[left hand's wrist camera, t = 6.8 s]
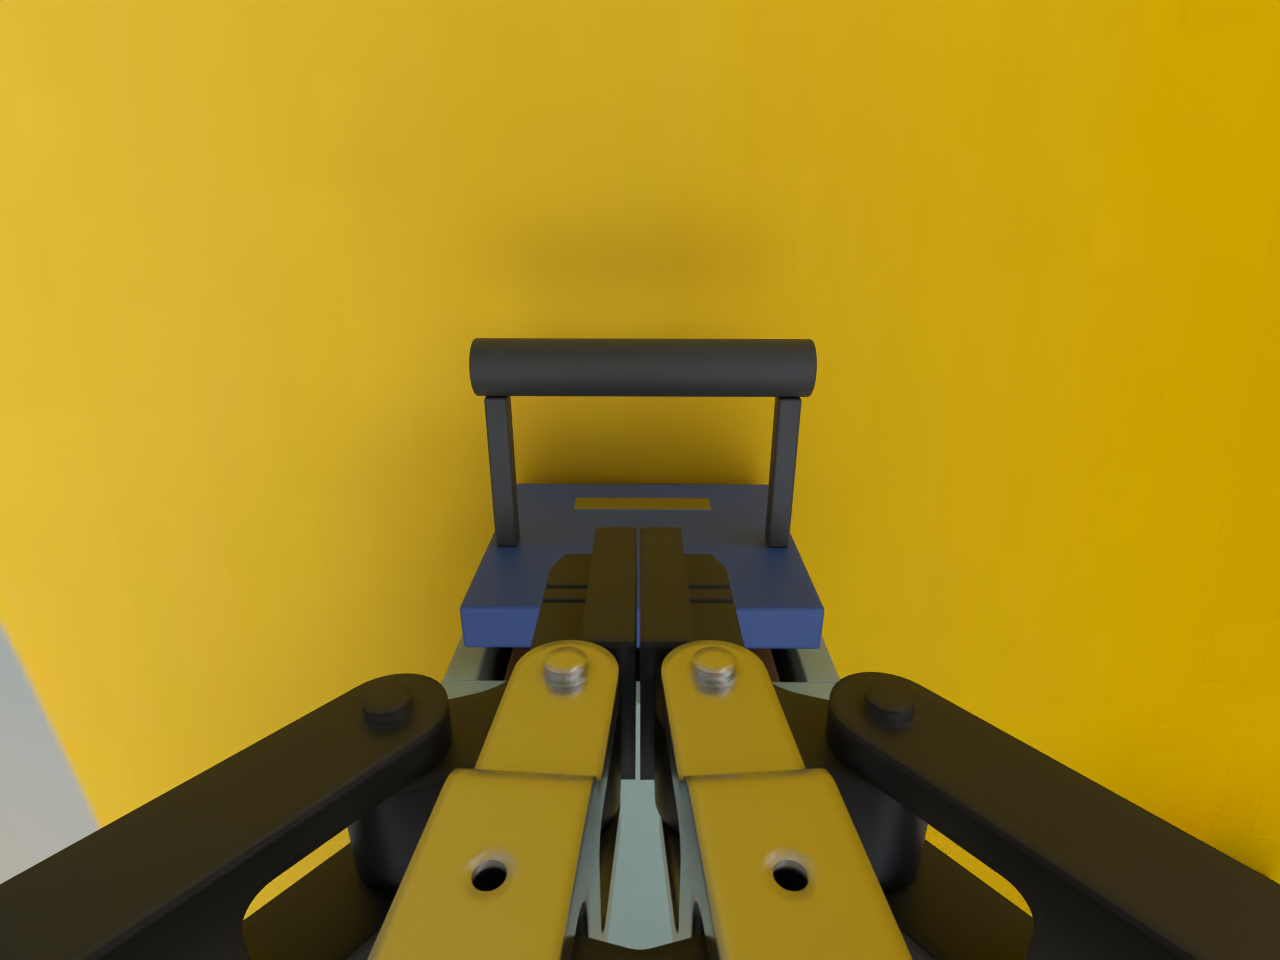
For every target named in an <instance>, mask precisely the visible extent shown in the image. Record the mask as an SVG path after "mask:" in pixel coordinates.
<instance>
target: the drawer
mask: <svg viewBox="0 0 1280 960" xmlns="http://www.w3.org/2000/svg"><path fill="white" fill-rule="evenodd" d="M469 369H470V379H471V384H472V388H473V391H474V393H475V394H476V395H477V396H486V397H485V399H484V402H485V414H486V426H487V439H488V451H489V463H490V475H491V487H492V499H493V511H494V523H495V532H494V534H493V537H492V539H491V541H490V543H489V545H488V548H487V550H486V552H485V554H484V556H483V559H482V561H481V563H480V565H479V567H478V569H477V572H476V574H475V576H474V578H473V580H472V583H471V585H470V587H469V589H468V591H467V594H466V596H465V598H464V600H463V602H462V604H461V607H460V614H461V623H462V632H463V641H464V645H465V647H513V650H512V653H511V657H510V660H509V664H508V667H507V670H506V674H505V677H504V681H507V680H509V679H510V677H511V674H512V672H513V669H514V667H515V665H516V663H517V662H518V661H519V660H520V658H521V657H522V656H524V655H525V654H526V653H527V652H529V651H530V648H531V644H532V640H533V636H534V632H535V628H536V624H537V620H538V616H539V611H540V607H541V603H542V602H543V595H544V591H545V589H546V583H547V579H548V575H549V571H550V568H551V567H552V566H553V565H554V564H556V563H557V562H558V561H559V560H560V559H561V558H562V557H563V556H564V555H565V554H592V551H593V544H594V537H595V529H596V527H636V542H637V647H636V681H640V527H681V534H682V542H683V550H684V554H711V555H712V556H713V557H714V558H715V559H716V560H717V561H719V562H720V563H721V564H722V565H723V566H724V567H725V568H726V570H727V574H728V579H729V583H730V589H731V591H732V595H733V602H734V604H735V608H736V612H737V616H738V621H739V625H740V629H741V633H742V637H743V642H744V646H745V648H746V649H748V650H749V651H751V652H753V653H754V654H755V655H756V656H758V657H759V658H760V660H761V661H762V662H763V663H764V665H765V667H766V669H767V672H768V674H769V677H770V679H771V682H780V680H779V676H778V673H777V669H776V666H775V662H774V659H773V655H772V652H771V649H818V648H819V647H820V643H821V634H822V626H823V617H824V608H823V606H822V603H821V601H820V599H819V597H818V594H817V592H816V590H815V588H814V585H813V583H812V581H811V579H810V576H809V574H808V572H807V570H806V567H805V565H804V563H803V561H802V558H801V556H800V554H799V552H798V550H797V547H796V545H795V543H794V541H793V538H792V536H791V534H790V522H791V511H792V500H793V489H794V478H795V467H796V456H797V445H798V434H799V423H800V412H801V399H800V397H809V396H810V395H811V394H812V391H813V389H814V385H815V380H816V371H817V357H816V349H815V345H814V342H813V341H812V340H810V339H543V338H476V339H474V340H473V342H472V345H471V349H470V358H469ZM510 396H677V397H775V409H774V422H773V436H772V449H771V462H770V475H769V485H710V484H516V472H515V457H514V442H513V428H512V413H511V399H510Z"/></svg>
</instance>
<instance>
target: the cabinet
mask: <svg viewBox="0 0 1280 960" xmlns="http://www.w3.org/2000/svg"><path fill="white" fill-rule="evenodd" d="M512 650H513V647H465V645H464V641H463V634H462V636H461V639H460V641H459V644H458V646H457V648H456V651H455V653H454V655H453V658H452V660H451V662H450V665H449V667H448V670H447V672H446V674H445V677H444V679H443V681H442V683H441V685H442V686H443V687H444V689H445V690H446V693H447V695H448V699H452V698H457V697H461V696H466V695H470V694H475V693H479V692H482V691H486V690H489V689H491V688H494V687H496V686H498V685H500V684H502V683H504V682H506V681H504V677H505V674H506V670H507V667H508V664H509V660H510V657H511V653H512ZM771 652H772V655H773V659H774V662H775V666H776V669H777V673H778V676H779V680H780V682H772V684H774V685H776V686H778V687H781V688H783V689H786V690H789V691H792V692H795V693H799V694H803V695H808V696H812V697H817V698H822V699H826V700H829V697H830V692H831V690H832V688H833V686H834V685H835V684H836V683H837V682H838V681H839V680H840V678H839V676H838V673H837V671H836V669H835V666H834V664H833V661H832V659H831V656H830V654H829V652H828V649H827V647H826V644H825V642H824V640H823V637H822V635H821V643H820V647H819V648H818V649H771ZM620 806H621V832H620V841H619V849H618V857H617V866H616V874H615V882H614V890H613V899H612V907H611V915H610V924H609V932H608V940H607V942H608V943H611V944H615V945H619V946H623V947H626V948H631V949H649V948H654V947H657V946H661V945H665V944H669V943H672V942H673V940H672V932H671V924H670V915H669V907H668V899H667V890H666V882H665V874H664V866H663V857H662V849H661V841H660V832H659V813H658V810H657V808H656V804H655V790H654V780H640V681H636V772H635V780H621V797H620Z"/></svg>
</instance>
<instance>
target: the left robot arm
mask: <svg viewBox="0 0 1280 960" xmlns="http://www.w3.org/2000/svg"><path fill="white" fill-rule="evenodd" d="M636 647H637V542H636V527H596V529H595V537H594V544H593V551H592V554H565V555H564V556H563V557H562V558H561V559H560V560H559V561H558V562H557V563H556V564H554V565H553V566H552V567H551V568H550V571H549V575H548V579H547V583H546V589H545V591H544V595H543V602H542V603H541V607H540V611H539V616H538V620H537V624H536V628H535V632H534V636H533V640H532V644H531V648H530V651H529V652H527V653H526V654H525V655H524V656H522V657H521V658H520V660H519V661H518V662H517V663H516V665H515V667H514V669H513V672H512V674H511V677H510V679H509V680H507V681H506V682H504V683H502V684H500V685H498V686H496V687H494V688H491V689H489V690H486V691H482V692H479V693H475V694H470V695H466V696H461V697H457V698H452V699H448V695H447V693H446V690H445V689H444V687H443V686H442V685H441V684H440V683H439V682H438V681H436V680H434V679H432V678H430V677H427V676H424V675H418V674H394V675H388V676H383V677H380V678H376V679H373V680H371V681H368V682H366V683H364V684H362V685H360V686H357V687H356V688H354V689H352V690H350V691H348V692H347V693H345V694H343V695H341V696H339V697H338V698H336V699H334V700H332V701H330V702H329V703H327V704H325V705H323V706H321V707H320V708H318V709H316V710H314V711H312V712H311V713H309V714H307V715H305V716H303V717H301V718H300V719H298V720H296V721H294V722H292V723H291V724H289V725H287V726H285V727H283V728H282V729H280V730H278V731H276V732H274V733H273V734H271V735H269V736H267V737H265V738H264V739H262V740H260V741H258V742H256V743H255V744H253V745H251V746H249V747H247V748H246V749H244V750H242V751H240V752H238V753H237V754H235V755H233V756H231V757H229V758H227V759H226V760H224V761H222V762H220V763H218V764H217V765H215V766H213V767H211V768H209V769H208V770H206V771H204V772H202V773H200V774H199V775H197V776H195V777H193V778H191V779H190V780H188V781H186V782H184V783H182V784H181V785H179V786H177V787H175V788H173V789H172V790H170V791H168V792H166V793H164V794H163V795H161V796H159V797H157V798H155V799H154V800H152V801H150V802H148V803H146V804H144V805H143V806H141V807H139V808H137V809H135V810H134V811H132V812H130V813H128V814H126V815H125V816H123V817H121V818H119V819H117V820H116V821H114V822H112V823H110V824H108V825H107V826H105V827H103V828H101V829H99V830H98V831H96V832H94V833H92V834H90V835H89V836H87V837H85V838H83V839H81V840H80V841H78V842H76V843H74V844H72V845H70V846H69V847H67V848H65V849H63V850H62V851H60V852H58V853H56V854H54V855H52V856H51V857H49V858H47V859H45V860H43V861H42V862H40V863H38V864H36V865H34V866H33V867H31V868H29V869H27V870H26V871H24V872H22V873H20V874H18V875H16V876H15V877H13V878H11V879H9V880H7V881H6V882H4V883H2V884H0V960H1280V884H1278V883H1276V882H1274V881H1273V880H1271V879H1269V878H1267V877H1265V876H1264V875H1262V874H1260V873H1258V872H1256V871H1255V870H1253V869H1251V868H1249V867H1247V866H1246V865H1244V864H1242V863H1240V862H1238V861H1237V860H1235V859H1233V858H1231V857H1229V856H1228V855H1226V854H1224V853H1222V852H1220V851H1219V850H1217V849H1215V848H1213V847H1211V846H1209V845H1208V844H1206V843H1204V842H1202V841H1200V840H1199V839H1197V838H1195V837H1193V836H1191V835H1190V834H1188V833H1186V832H1184V831H1182V830H1181V829H1179V828H1177V827H1175V826H1173V825H1172V824H1170V823H1168V822H1166V821H1164V820H1163V819H1161V818H1159V817H1157V816H1155V815H1154V814H1152V813H1150V812H1148V811H1146V810H1145V809H1143V808H1141V807H1139V806H1137V805H1135V804H1134V803H1132V802H1130V801H1128V800H1126V799H1125V798H1123V797H1121V796H1119V795H1117V794H1116V793H1114V792H1112V791H1110V790H1108V789H1107V788H1105V787H1103V786H1101V785H1099V784H1098V783H1096V782H1094V781H1092V780H1090V779H1089V778H1087V777H1085V776H1083V775H1081V774H1080V773H1078V772H1076V771H1074V770H1072V769H1071V768H1069V767H1067V766H1065V765H1063V764H1062V763H1060V762H1058V761H1056V760H1054V759H1052V758H1051V757H1049V756H1047V755H1045V754H1043V753H1042V752H1040V751H1038V750H1036V749H1034V748H1033V747H1031V746H1029V745H1027V744H1025V743H1024V742H1022V741H1020V740H1018V739H1016V738H1015V737H1013V736H1011V735H1009V734H1007V733H1006V732H1004V731H1002V730H1000V729H998V728H997V727H995V726H993V725H991V724H989V723H988V722H986V721H984V720H982V719H980V718H978V717H977V716H975V715H973V714H971V713H969V712H968V711H966V710H964V709H962V708H960V707H959V706H957V705H955V704H953V703H951V702H950V701H948V700H946V699H944V698H942V697H941V696H939V695H937V694H935V693H933V692H932V691H930V690H928V689H926V688H924V687H923V686H921V685H919V684H917V683H915V682H913V681H911V680H908V679H905V678H903V677H899V676H896V675H892V674H886V673H878V672H863V673H856V674H852V675H849V676H846V677H844V678H842V679H841V680H839V681H838V682H837V683H836V684H835V685H834V686H833V688H832V690H831V692H830V697H829V700H826V699H822V698H817V697H812V696H808V695H803V694H799V693H795V692H792V691H789V690H786V689H783V688H781V687H778V686H776V685H774V684H772V682H771V679H770V677H769V674H768V672H767V669H766V667H765V665H764V663H763V662H762V661H761V660H760V658H759V657H758V656H756V655H755V654H754V653H753V652H751V651H749V650H748V649H746V648H745V646H744V642H743V637H742V633H741V629H740V625H739V621H738V616H737V612H736V608H735V604H734V602H733V595H732V591H731V589H730V583H729V579H728V574H727V570H726V568H725V567H724V566H723V565H722V564H721V563H720V562H719V561H717V560H716V559H715V558H714V557H713V556H712V555H711V554H684V550H683V542H682V534H681V527H640V780H654V790H655V804H656V808H657V810H658V813H659V832H660V841H661V849H662V857H663V866H664V874H665V882H666V890H667V899H668V907H669V915H670V924H671V932H672V940H673V942H672V943H669V944H665V945H661V946H657V947H654V948H649V949H631V948H626V947H623V946H619V945H615V944H611V943H608V942H607V940H608V932H609V924H610V915H611V907H612V899H613V890H614V882H615V874H616V866H617V857H618V849H619V841H620V832H621V806H620V797H621V780H635V772H636ZM928 824H929V825H930V826H932V827H933V828H935V829H936V830H938V831H939V832H940V833H942V834H943V835H945V836H946V837H947V838H949V839H950V840H952V841H953V842H954V843H956V844H957V845H959V846H960V847H962V848H963V849H964V850H966V851H967V852H969V853H970V854H971V855H973V856H974V857H976V858H977V859H978V860H980V861H981V862H983V863H984V864H986V865H987V866H988V867H990V868H991V869H993V870H994V871H995V872H997V873H998V874H1000V875H1001V876H1002V877H1004V878H1005V879H1006V880H1008V881H1009V882H1010V883H1011V884H1012V885H1013V886H1014V887H1015V888H1016V889H1017V890H1018V891H1019V892H1020V894H1021V895H1022V896H1023V898H1024V899H1025V901H1026V902H1027V904H1028V906H1029V908H1030V910H1031V913H1032V916H1033V918H1032V917H1031V916H1030V915H1028V914H1027V913H1026V912H1024V911H1023V910H1021V909H1020V908H1019V907H1017V906H1016V905H1015V904H1013V903H1012V902H1010V901H1009V900H1008V899H1006V898H1005V897H1004V896H1002V895H1001V894H999V893H998V892H997V891H995V890H994V889H993V888H991V887H990V886H988V885H987V884H986V883H984V882H983V881H982V880H980V879H979V878H977V877H976V876H975V875H973V874H972V873H971V872H969V871H968V870H966V869H965V868H964V867H962V866H961V865H960V864H958V863H957V862H956V861H954V860H953V859H951V858H950V857H949V856H947V855H946V854H945V853H943V852H942V851H940V850H939V849H938V848H936V847H935V846H934V845H932V844H931V843H929V842H928V841H927V840H925V835H926V830H927V825H928ZM347 827H348V832H349V837H350V841H351V843H349V844H348V845H346V846H345V847H344V848H342V849H341V850H340V851H338V852H337V853H335V854H334V855H333V856H331V857H330V858H329V859H327V860H326V861H324V862H323V863H322V864H320V865H319V866H318V867H316V868H315V869H313V870H312V871H311V872H309V873H308V874H307V875H305V876H304V877H303V878H301V879H300V880H298V881H297V882H296V883H294V884H293V885H292V886H290V887H289V888H287V889H286V890H285V891H283V892H282V893H281V894H279V895H278V896H276V897H275V898H274V899H272V900H271V901H270V902H268V903H267V904H265V905H264V906H263V907H261V908H260V909H259V910H257V911H256V912H254V913H253V914H252V915H250V916H249V917H248V918H246V919H245V920H243V918H244V915H245V913H246V911H247V909H248V907H249V905H250V903H251V902H252V901H253V899H254V898H255V896H256V895H257V894H258V893H259V892H260V891H261V890H262V889H263V888H264V887H265V886H266V885H267V884H268V883H269V882H271V881H272V880H273V879H275V878H276V877H277V876H279V875H280V874H282V873H283V872H285V871H286V870H287V869H289V868H290V867H292V866H293V865H294V864H296V863H297V862H299V861H300V860H301V859H303V858H304V857H306V856H307V855H309V854H310V853H311V852H313V851H314V850H316V849H317V848H318V847H320V846H321V845H323V844H324V843H325V842H327V841H328V840H330V839H331V838H333V837H334V836H335V835H337V834H338V833H340V832H341V831H342V830H344V829H345V828H347Z"/></svg>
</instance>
